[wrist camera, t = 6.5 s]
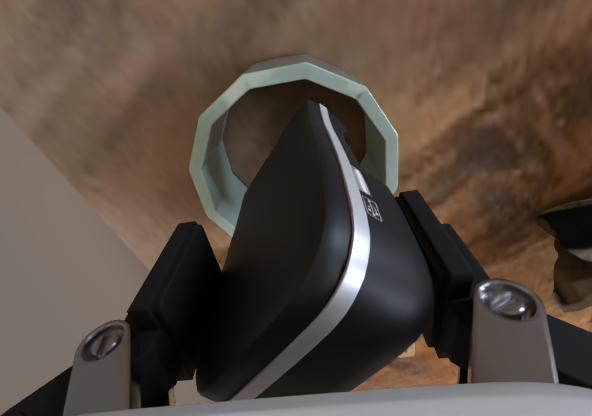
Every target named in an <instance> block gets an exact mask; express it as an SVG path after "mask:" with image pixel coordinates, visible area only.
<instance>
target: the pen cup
mask: <svg viewBox="0 0 592 416" xmlns="http://www.w3.org/2000/svg"><path fill="white" fill-rule="evenodd" d="M302 79H306V80H309V81H311V82H314V83H316V84H319V85H321V86H324V87H326V88H329V89H331V90H334V91H336V92H339V93H341V94H344V95H346V96H349V97H351V98H353V99H354V101H355V102H356V103H357V105H358V106H359V108H360V109H361V111H362V112H363V113H364V115H365V134H366V154H365V156H364V158H363V160H362V162H361V164H360V167H361V168H362V169H364V170H365V171H367V172H368V173H370V174H372V175H373V176H375V177H376V178H378V179H379V180H380V181H381V182H383V183H384V184H385V185H386V186H388V188H389V189H390V191H391V193H392V194H394V192H395V191H396V189H397V187H398V134H397V132H396V131H395V129H394V128H393V126H392V125H391V123H390V122H389V120H388V119H387V117H386V116H385V114H384V113H383V111H382V110H381V108H380V107H379V105H378V104H377V102H376V101H375V99H374V98H373V96H372V95H371V93H370V92H369V90H368V89H367V87H366V86H365V85H363V84H362V83H361V82H360V81H359V80H357V79H356V78H355V77H354V76H353V75H351V74H350V73H349V72H347V71H345V70H343V69H340V68H338V67H335V66H333V65H331V64H328V63H326V62H323V61H321V60H319V59H316V58H314V57H311V56H309V55H307V54H304V53H303V54H297V55H292V56H287V57H282V58H277V59H271V60H266V61H261V62H256V63H254V64H253V65H252V66H251V67H250V68H249V69H247V70H246V71H245V72H244V73H243V74H242V75H241V76H240V77H239V78H238V79H237V80H236V81H235V82H234V83H233V84H232V85H230V86H229V87H228V88H227V89H226V90H225V91H224V92H223V93H222V94H221V95H220V96H219V97H218V98H217V99H216V100H215V101H214V102H213V103H212V104H211V105H210V106H209V107H208V108H207V109H206V110H205V111H204V112H203V113H202V114H201V115H200V116H199V118H198V123H197V129H196V134H195V139H194V144H193V149H192V154H191V159H190V164H189V172H190V174H191V177H192V180H193V182H194V185H195V187H196V190H197V192H198V195H199V198H200V200H201V203H202V205H203V208H204V210H205V213H206V216H207V217H209V218H210V219H211V220H212V221H213V222H214V223H216V224H217V225H218V226H219V227H220V228H221V229H223V230H224V231H225V232H226V233H227V234H228V235H230V236H231V237H233V233H234V230H235V227H236V223H237V220H238V216H239V212H240V208H241V205H242V201H243V197H244V194H245V192H246V191H247V189H248V188H247V187H246V186H245V185H244V184H243V183H242V182H241V181H240V180H239V179H238V178H237V177H236V176H235V175H234V174H233V173H232V170H231V167H230V163H229V160H228V157H227V154H226V150H225V147H224V144H223V141H222V138H223V134H224V130H225V126H226V122H227V117H228V113H229V109H230V107H231V106H232V105H233V104H234V103H235V102H237V101H238V100H239V99H240V98H241V97H242V96H243V95H244V94H245V93H246V92H247V91H248V90H249V89H253V88H259V87H264V86H269V85H275V84H280V83H286V82H291V81H297V80H302Z"/></svg>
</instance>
